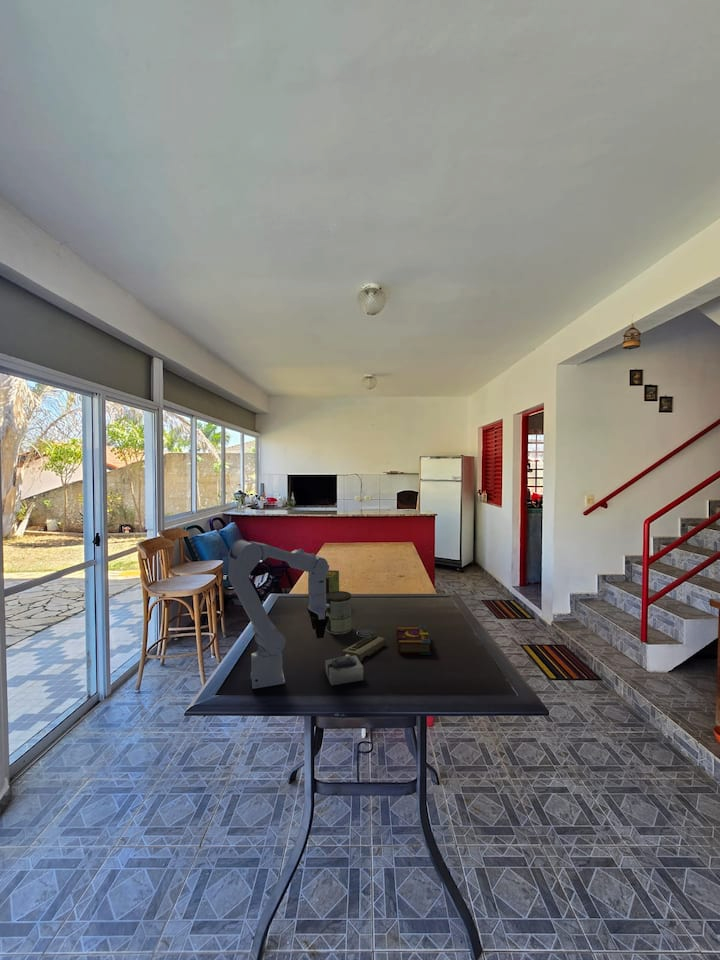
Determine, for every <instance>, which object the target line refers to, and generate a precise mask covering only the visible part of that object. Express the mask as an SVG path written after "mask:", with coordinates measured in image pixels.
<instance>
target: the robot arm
mask: <svg viewBox="0 0 720 960" xmlns="http://www.w3.org/2000/svg"><path fill="white" fill-rule="evenodd" d="M227 556H228V569H227V571H228V572H227V578H228V581H229V583H230V584H231V587H232V588H233V590H234V592H235V594H236V596H237V598H238V600H239V602H240V603H241V605H242V607H243V610H244V611H245V612H246V615H247V617H248V619H249V621H250V623H251V625H252V626H253V627H252V631H253V632H254V633H253V634H254V641H255V643H256V644H257V645H258V648H257V650H256V651H254V652H252V653H251V655H250V656H251V658H250V659H251V672H250V679H251V687H252V689H254V690H255V689H261V688H267V687H273V686H279V685H284V684H286V681H285V680H286V679H285V675H284V671H283V651H284V648H285V647H286V642H287V641H286V637H285V635H284V634H282V633H281V632H279V630H278V628H277V627H276V626H275V625H274V624H273V622H272V621H271V619H270V617H269V615H268V613H267V612H266V609H265V607H264V606H263V604H262V602H261V600H260V597H259V595H258V593H257V592H256V590H255V587H254V586H253V584H252V583H251V580H250V578H249V577H250V576H251V575H250V574H251V573H252V571H253V570H254V569H255V568H256V567H257V565H258V564H259V563H260V561H265V560H266V559H267V558H271V559H274V560H279V561H283V562H286V563H287V565H288V566H289V567H290V568H291V569H296V570H299V571H303V572H306V573H308V575H307V576H308V578H309V596H308V605H307V608H306V610H307V611H308V614H309V617H310V622H311V627H312V630H315V636H316V639H318V640H319V639H324V638H325V633H326V625H327V623H328V621H329V616H326V612H325V611H326V609H327V608H329V607H330V605H329V604H326V574H327V572H328V570H330V565H329V563H328V560H327V559H326V558H324V557H321V556H318V555H316V553H313V552H312V553H308V552H305V550H304V549H301V548H298V549H293V550H292V551H288V550H284V549H281V548H278V547H275V546H272V545H269V544H266V543H263V542H256V541H253V540H251V541H247V540H246V539H238V540H236V541H235V542H234V543H232V545H231V548H229V552H228V553H227Z"/></svg>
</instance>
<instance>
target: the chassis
mask: <svg viewBox="0 0 720 960" xmlns="http://www.w3.org/2000/svg"><path fill="white" fill-rule="evenodd" d="M351 657H354V659H355V660H356V662H357V664H353V666H347V667H341V668H335V667H333V665H332V663H331V661H332V660H335V658H330V659H325V674H326V677H327V679H328V681H329V683H330V686H336V685H337V686H338V685H341V684H349V683H353V682H359V681H364V666H363V664H362V663H361V662H360V661H359V659H358V658H357V656H356V655H355V656H351Z"/></svg>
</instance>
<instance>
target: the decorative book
mask: <svg viewBox="0 0 720 960" xmlns="http://www.w3.org/2000/svg"><path fill="white" fill-rule="evenodd" d="M395 632H396V643H397V645H396V647H397V651H398V654H399V655H421V656H422V655H423V656H425V655H427V656H429V655H430V656H431V655H432V652H431V649H430V648H431V647H430V646H431V645H432V642H431V640H430V638H429V637H430V636H429V632H428V631H427V628H426V625H415V626H409V625H408V626H398V625H397V626H396V631H395Z"/></svg>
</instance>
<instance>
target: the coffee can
mask: <svg viewBox="0 0 720 960" xmlns="http://www.w3.org/2000/svg"><path fill="white" fill-rule="evenodd" d="M351 598H352V593H351V592H348V591H343V590H339V591H334V592H330V593H327V594H326V604H329V605H330V607H329V608H327V609H326V612H325V616H329V621H328V623H327V625H326V628H325V632H326V633H328V634H331V635H344V634H348V633H349V632H351V631H352V607H351V606H352V599H351Z"/></svg>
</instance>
